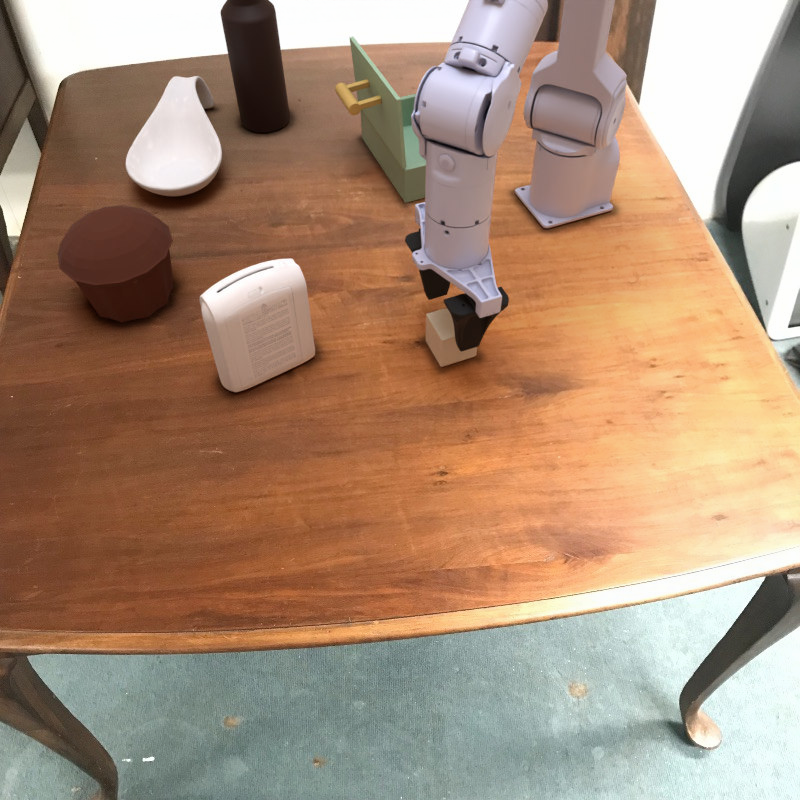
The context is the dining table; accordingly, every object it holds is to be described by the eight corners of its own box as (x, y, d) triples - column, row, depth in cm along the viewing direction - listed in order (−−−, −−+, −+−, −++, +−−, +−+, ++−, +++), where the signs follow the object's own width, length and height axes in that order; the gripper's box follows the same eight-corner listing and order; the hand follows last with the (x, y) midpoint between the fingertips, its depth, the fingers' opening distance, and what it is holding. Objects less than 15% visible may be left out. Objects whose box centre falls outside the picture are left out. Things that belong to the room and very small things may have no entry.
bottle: (300, 115, 108) (280, -38, 92) (269, 139, 104) (244, -16, 89) (261, 102, 110) (237, -50, 95) (230, 125, 107) (199, -29, 91)
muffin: (98, 346, 81) (65, 273, 73) (64, 285, 86) (30, 213, 79) (203, 301, 85) (182, 228, 77) (164, 246, 90) (140, 173, 83)
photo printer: (302, 332, 82) (288, 239, 72) (323, 357, 79) (310, 264, 70) (213, 373, 78) (185, 281, 68) (232, 400, 76) (205, 310, 66)
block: (460, 330, 81) (462, 302, 78) (476, 356, 79) (479, 329, 76) (425, 340, 80) (425, 313, 77) (440, 367, 78) (441, 340, 75)
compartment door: (353, 36, 93) (317, 46, 92) (400, 98, 84) (361, 110, 83) (361, 103, 100) (328, 113, 100) (406, 167, 91) (370, 178, 90)
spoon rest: (223, 209, 95) (211, 158, 89) (126, 213, 95) (108, 162, 89) (238, 105, 110) (229, 56, 104) (155, 108, 109) (141, 59, 104)
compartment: (419, 124, 106) (419, 92, 102) (467, 187, 97) (469, 154, 93) (361, 138, 104) (360, 105, 100) (405, 203, 95) (404, 170, 91)
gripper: (384, 171, 69) (387, 284, 80) (450, 272, 61) (444, 383, 71) (455, 153, 71) (450, 267, 81) (530, 249, 62) (513, 361, 73)
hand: (452, 320), depth 77 cm, fingers open, 7 cm apart
